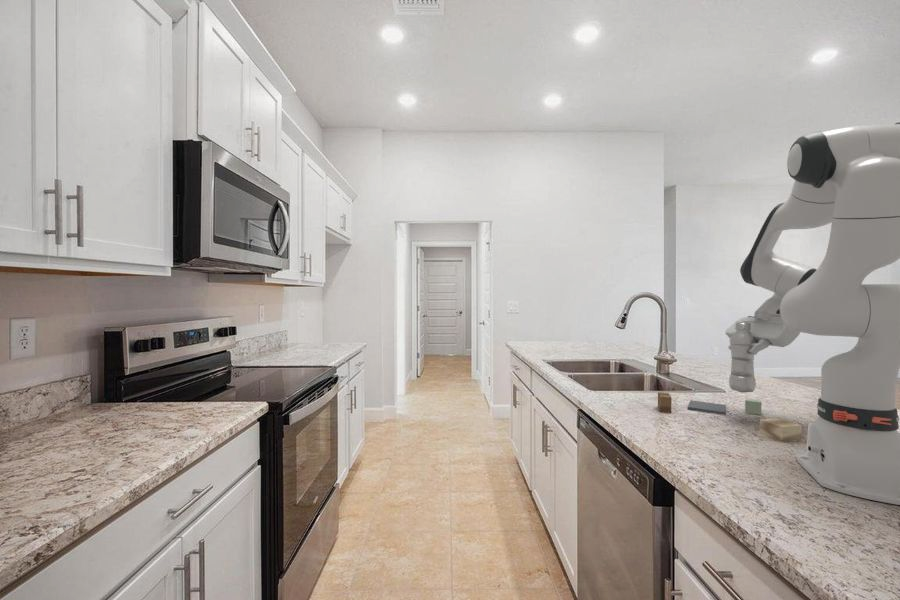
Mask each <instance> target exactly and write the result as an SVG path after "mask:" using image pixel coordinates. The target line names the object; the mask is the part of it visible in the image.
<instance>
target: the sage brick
mask: <svg viewBox="0 0 900 600" xmlns="http://www.w3.org/2000/svg"><path fill="white" fill-rule="evenodd" d="M744 401H745V402H744V413H745V414H748V413H751V414H750V415H755V414H759V415H758V416H762V404H763V402H762V399H758V398H749V397H744Z"/></svg>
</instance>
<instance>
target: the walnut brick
mask: <svg viewBox="0 0 900 600" xmlns="http://www.w3.org/2000/svg"><path fill="white" fill-rule="evenodd" d="M657 409H658V410H659V412H660V413H666V414H672V396H671V394H670V393H669V392H661V391H658V392H657Z"/></svg>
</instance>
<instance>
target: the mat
mask: <svg viewBox="0 0 900 600" xmlns="http://www.w3.org/2000/svg"><path fill="white" fill-rule="evenodd" d="M687 410H689V411H697V412H702V413H703V412H704V413H710V414H711V413H712V414H718V415H724V416H726V412H727V411H726V410H727V404H722V403H714V402H708V401H700V400H690V401H689V402H688V405H687Z"/></svg>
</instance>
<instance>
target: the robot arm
mask: <svg viewBox="0 0 900 600" xmlns="http://www.w3.org/2000/svg"><path fill="white" fill-rule="evenodd" d="M786 159H787V160H786V161H787V162H786V166H787V167H786V168H787V172H788V175H789V176H790V177H791V179H793V180H794V182H793V185H792V189H791V193H790V195H789V196H788V198H787V200H786V201H785V202H781V203H779V204H776V206H775V207H773V208H772V210H771V211H770V212H769V213H768V215H767V217H766V219H765V220H764V222H763V224H762V226H761V228H760V230H759V232H758V234H757V237H756V239H755V241H754V242H753V245H752V246H751V249H750V251H749V253H748V254H747V256H746V257H745V259H744V260H743V262H742V264H741V266H740V269H739V272H740V276H741V278H742V280H743V281H744V283H745V284H749V285H753V286H755V287H759V288H762V289H765V290H767V291H770V292H773V295H772V296H771V297H769V298H767V299H766V300H764V302H763V303H762V304H761V305H760V306H759V307H758V308H757V309H756V310H755V311H754V316H753V315H747V316H743V317H740V318H739V319H737V320H735V322H733V323H731V325H730V326H729V327H728V328H726V330H725V335H726V336H727V337H728V338H729V339H730V338H731V336H732V335H733V334H734V333H735V332H736V329H735V325H736V323H750V324H751V329H750V332H751V334H752V335H753V336H754V338H755V339H756V345H754V346H751V347H750V348H749V349H748V352H749V353H750V354H754V356H756V355H757V354H758V353H759V352H761V351H762V350H763V351H764V350H765V349H767V348H769V346H770V347H772V346H773V347H779V348H785V347H787V346H790V345H791V344H792V343H793V342H794V341H795V340H796V339H797V338H798V337H799V336H800V334H801V333H804V334H809V335H814V336H822V337H823V336H826V337H847V338H848V337H850V338H851V337H852V338H853V337H854V338H858V339H857V343H856V344H855V345H854V347H853V348H851V349H850V350H848V351H845V352H842V353H839V354H836V355H834V356H832V357H830V358H828V359H827V360H825V362H824V363H823V364H822V365H821V368H820V369H821V373H820V375H821V376H820V378H821V379H820V397H819V398H818V399H817V403H816V407H817V413H816V414H817V416H818V417H817V418H816V419H815V420H814V421H811V422H810V423H808V426H807V436H806V449H805V450H806V451H805V452H806V453H805V454H803V453H802V454H800V453H799V454H796V456H795V461H796V462H797V463H798V464H799V465H800V466H801V467H803V468H804V470H805V471H806V472H807V473H808V474H809V476H810V475H811V477H812V478H813V479H814V480H815V481H816V482H817V483H818V484H819V485H821V487H824V488H827V489H829V490H831V491H835V492H838V493H842V494H844V495H850V496H852V497H853V496H854V497H858V498H862V499H865V500H871V501H877V502H882V503H886V504H891V505H897V506H898V505H899V506H900V432H899V431H898V430H899V429H900V426H899V425H900V424H899V421H900V417H899V414H898V409H897V408H896V407H895V403H896V388H897V381H898V375H899V372H900V283H897V284H895V283H894V284H892V283H891V284H889V283H888V284H886V283H883V284H882V283H881V284H880V283H877V284H875V283H874V284H873V283H868V284H864V283H863V281H864V280H865V278H867V277H868V276H869V275H870V274H871V273H873V272H875V271H876V270H878V269H882V268H885V267H887V266H890V265H892V264H894V263H896V262H897V261H898V260H899V259H900V122H895V123H892V124H891V123H886V124H885V123H884V124H881V123H880V124H868V125H853V126H852V125H851V126H846V127H844V126H843V127H840V128H833V129H831V130H825V131H821V130H820V131H814V132H810V133H807V134H804V135H801V136H800V137H798V138H796V140H795V141H794V142H793V144H791V147H790V148H789V152H788V155H787V158H786ZM829 224H831V226H830V232H829V233H830V234H829V239H828V243H827V249H826V253H825V255H824V257H823V260H822V261H821V263H820V264H819V266H818V268H817V269H816V268H814V267H812V266H809V265H806V264H804V263H800V262H797V261H793V260H790V259H789V258H784V257H782V256H779V255H777V254H776V253H774V252H773V249H775V246H776V244H777V242H778V240H779V238H780V236H781V234H782V232H783V231H788V230H810V229H816V228H820V227H824V226H826V225H829ZM727 348H728V349H729V350H730V351H731V348H730V344H729V345H728V346H727Z"/></svg>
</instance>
